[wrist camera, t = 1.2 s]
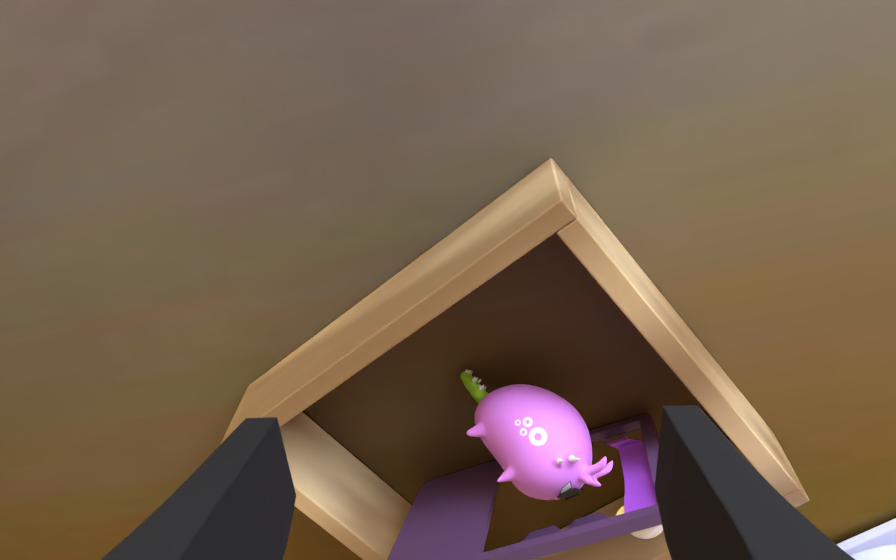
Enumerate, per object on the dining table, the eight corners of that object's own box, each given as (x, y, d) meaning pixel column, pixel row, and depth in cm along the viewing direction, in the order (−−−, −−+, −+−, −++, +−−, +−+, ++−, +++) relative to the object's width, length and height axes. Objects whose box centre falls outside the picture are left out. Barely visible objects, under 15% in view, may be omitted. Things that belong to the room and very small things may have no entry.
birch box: (774, 433, 25) (810, 501, 22) (483, 583, 30) (483, 655, 27) (551, 156, 20) (561, 198, 18) (247, 385, 25) (218, 447, 22)
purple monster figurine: (387, 622, 21) (690, 544, 18) (316, 465, 20) (620, 365, 18) (433, 508, 27) (661, 440, 25) (381, 386, 26) (609, 306, 24)
